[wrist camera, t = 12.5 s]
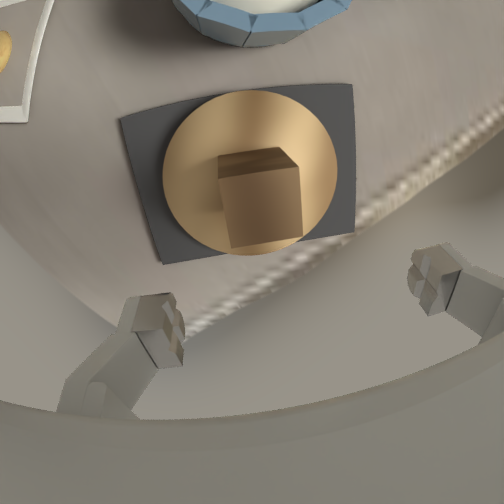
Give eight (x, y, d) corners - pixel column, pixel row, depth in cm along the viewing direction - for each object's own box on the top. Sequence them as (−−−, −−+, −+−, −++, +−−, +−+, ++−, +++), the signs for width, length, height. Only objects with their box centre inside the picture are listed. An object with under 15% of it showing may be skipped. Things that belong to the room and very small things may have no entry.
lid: (327, 84, 17) (368, 85, 12) (332, 235, 23) (362, 279, 18) (148, 109, 16) (120, 119, 11) (186, 260, 23) (180, 312, 18)
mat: (349, 84, 17) (352, 84, 17) (351, 229, 24) (354, 232, 23) (122, 117, 17) (120, 118, 16) (163, 261, 23) (162, 264, 23)
